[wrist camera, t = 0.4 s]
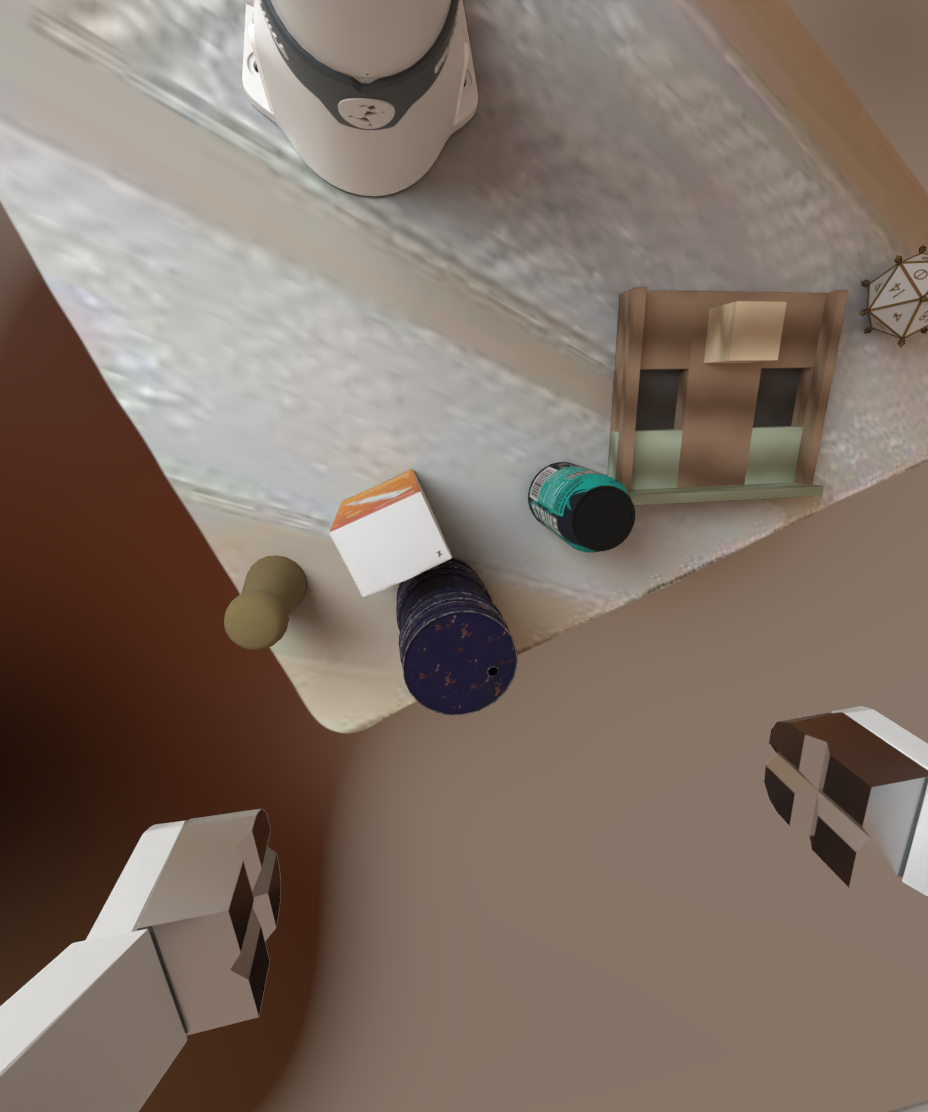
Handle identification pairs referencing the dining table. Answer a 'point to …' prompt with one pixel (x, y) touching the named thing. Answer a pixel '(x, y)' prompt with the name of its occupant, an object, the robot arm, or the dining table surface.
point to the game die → (900, 298)
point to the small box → (388, 534)
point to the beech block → (744, 332)
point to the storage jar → (453, 640)
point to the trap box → (718, 400)
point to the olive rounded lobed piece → (265, 603)
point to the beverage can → (582, 506)
